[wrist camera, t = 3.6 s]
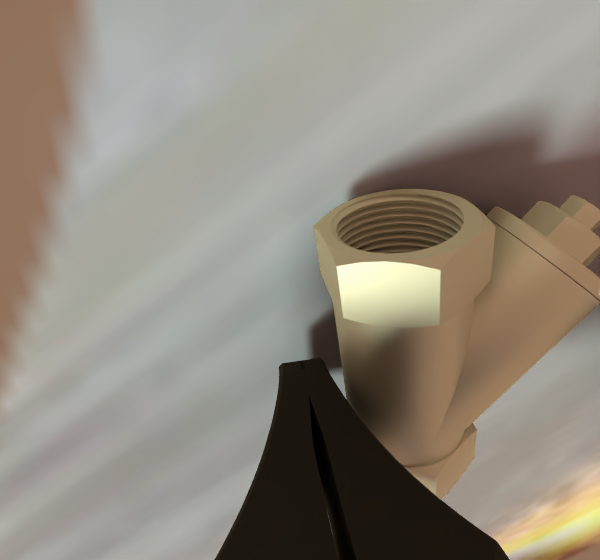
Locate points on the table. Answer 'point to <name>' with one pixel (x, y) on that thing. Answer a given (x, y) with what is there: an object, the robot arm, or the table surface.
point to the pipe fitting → (448, 311)
